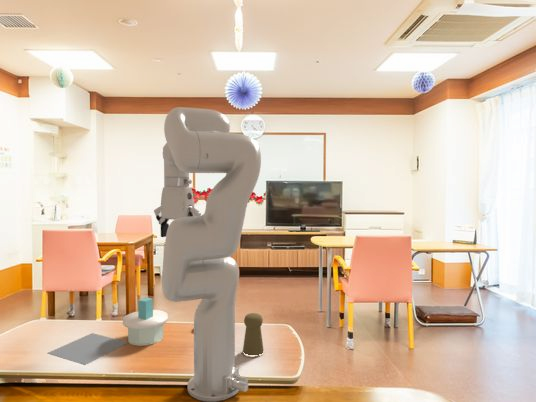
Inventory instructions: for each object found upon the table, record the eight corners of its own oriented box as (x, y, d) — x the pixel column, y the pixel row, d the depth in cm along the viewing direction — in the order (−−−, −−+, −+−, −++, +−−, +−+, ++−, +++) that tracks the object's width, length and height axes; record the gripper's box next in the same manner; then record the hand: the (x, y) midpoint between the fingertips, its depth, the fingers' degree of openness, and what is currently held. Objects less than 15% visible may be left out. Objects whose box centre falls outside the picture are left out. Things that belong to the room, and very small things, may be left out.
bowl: (169, 336, 121) (169, 317, 120) (147, 349, 112) (146, 329, 111) (144, 330, 125) (144, 312, 125) (120, 343, 116) (120, 323, 116)
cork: (250, 345, 115) (250, 309, 114) (267, 350, 112) (268, 313, 111) (238, 354, 110) (238, 315, 109) (256, 359, 107) (256, 320, 106)
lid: (176, 316, 121) (176, 296, 121) (147, 332, 109) (146, 309, 109) (144, 310, 127) (144, 290, 126) (113, 324, 115) (112, 302, 114)
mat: (128, 343, 116) (128, 342, 115) (85, 366, 102) (85, 364, 102) (92, 334, 122) (92, 333, 122) (47, 354, 108) (47, 353, 108)
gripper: (207, 183, 121) (207, 238, 122) (162, 182, 128) (163, 234, 129) (192, 183, 114) (192, 242, 115) (146, 182, 121) (147, 237, 123)
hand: (177, 237), depth 122 cm, fingers open, 9 cm apart
